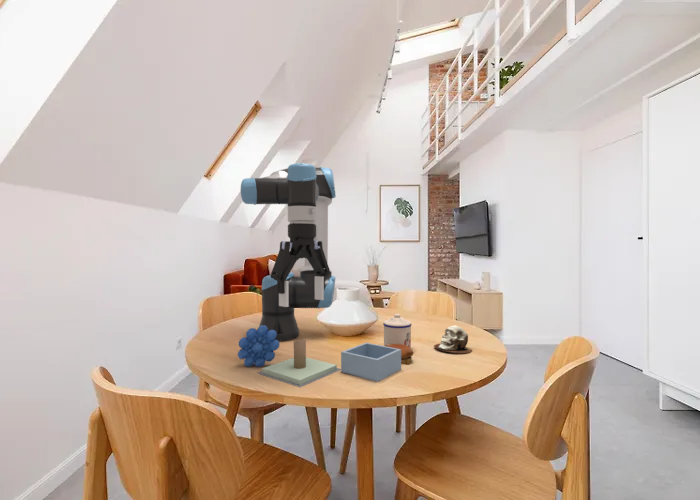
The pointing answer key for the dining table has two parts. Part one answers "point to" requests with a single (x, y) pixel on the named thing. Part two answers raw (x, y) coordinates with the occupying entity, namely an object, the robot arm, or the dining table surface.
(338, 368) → the mat
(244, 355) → the blue bumpy cluster
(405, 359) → the burger
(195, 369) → the dining table surface
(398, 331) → the teacup with lid
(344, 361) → the open box
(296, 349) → the lid
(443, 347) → the skull
